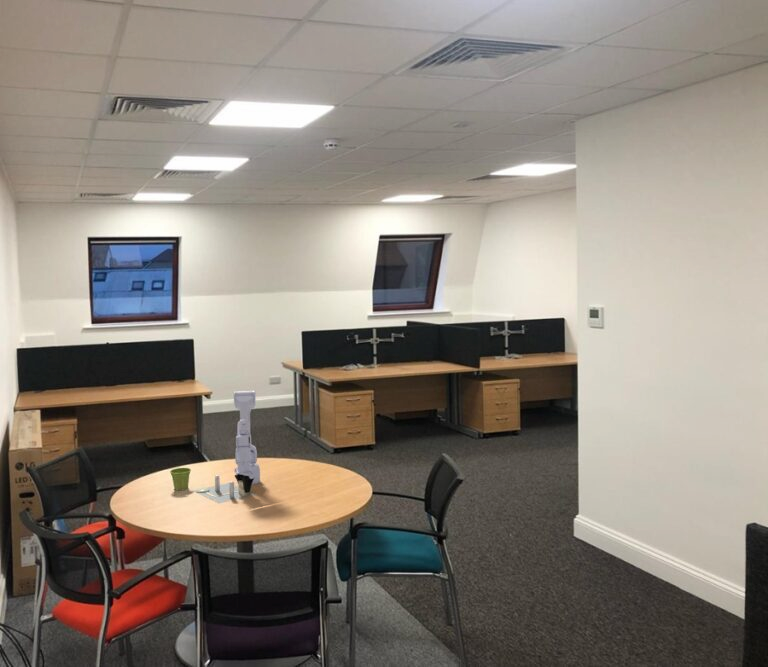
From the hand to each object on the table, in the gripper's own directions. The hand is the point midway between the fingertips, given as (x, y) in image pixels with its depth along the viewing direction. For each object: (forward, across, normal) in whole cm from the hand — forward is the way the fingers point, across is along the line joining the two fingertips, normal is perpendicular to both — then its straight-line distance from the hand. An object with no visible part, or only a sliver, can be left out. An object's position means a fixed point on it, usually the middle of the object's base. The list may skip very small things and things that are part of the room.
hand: (244, 491), depth 325 cm
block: (+1, 0, 0) cm, 1 cm away
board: (+2, -8, -6) cm, 10 cm away
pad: (+2, -17, -12) cm, 21 cm away
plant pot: (+2, -29, -17) cm, 34 cm away
